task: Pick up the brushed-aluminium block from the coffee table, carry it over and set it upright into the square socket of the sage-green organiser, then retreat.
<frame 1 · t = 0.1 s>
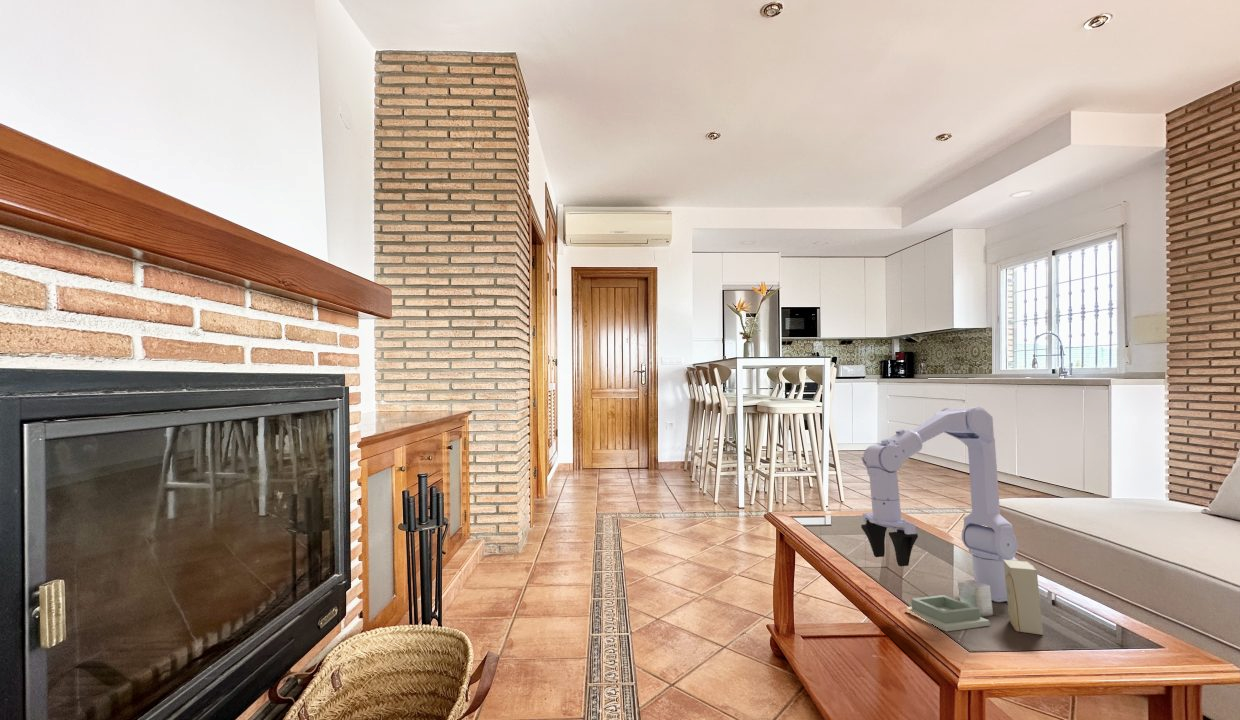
hand: (890, 561, 111), 10 cm above the table, tool pointing down, fingers open, 7 cm apart
organiser: (945, 618, 104), on the table
aluminium block: (976, 612, 107), on the table
skincare box: (1026, 629, 98), on the table
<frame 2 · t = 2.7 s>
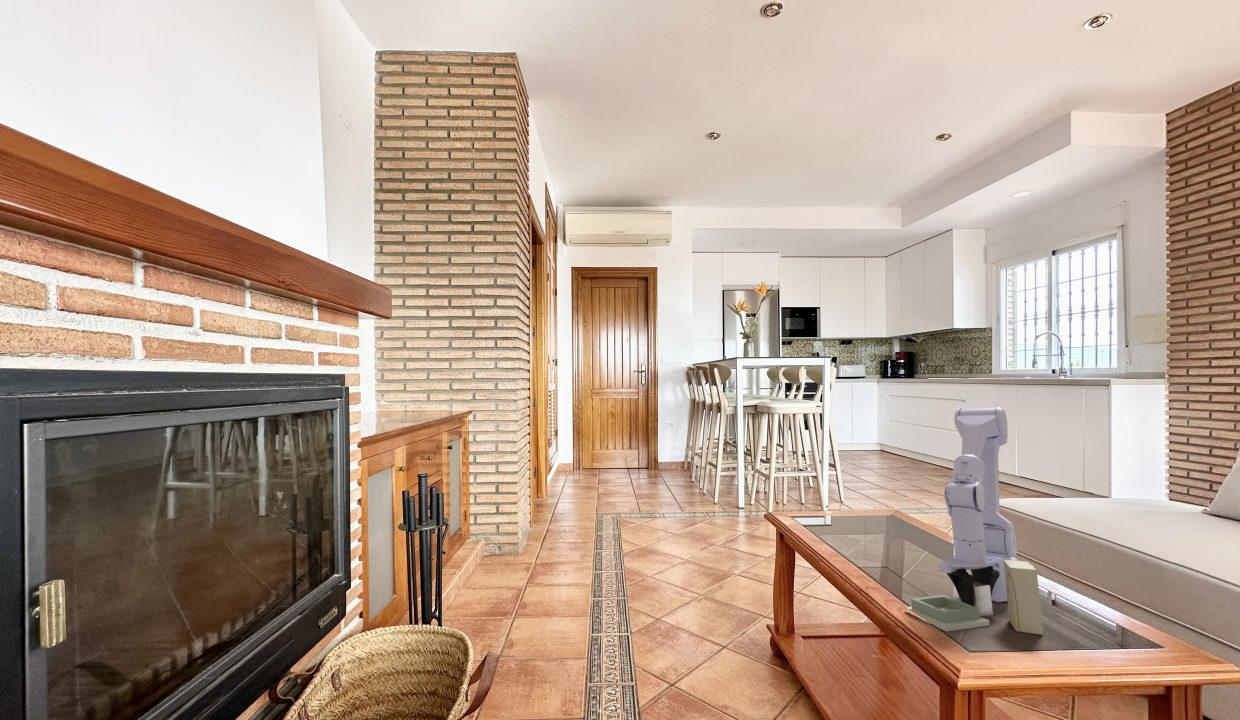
hand: (975, 604, 107), 2 cm above the table, tool pointing down, fingers closed on aluminium block, 4 cm apart
aluminium block: (976, 612, 107), on the table, touching gripper
everything else where it was.
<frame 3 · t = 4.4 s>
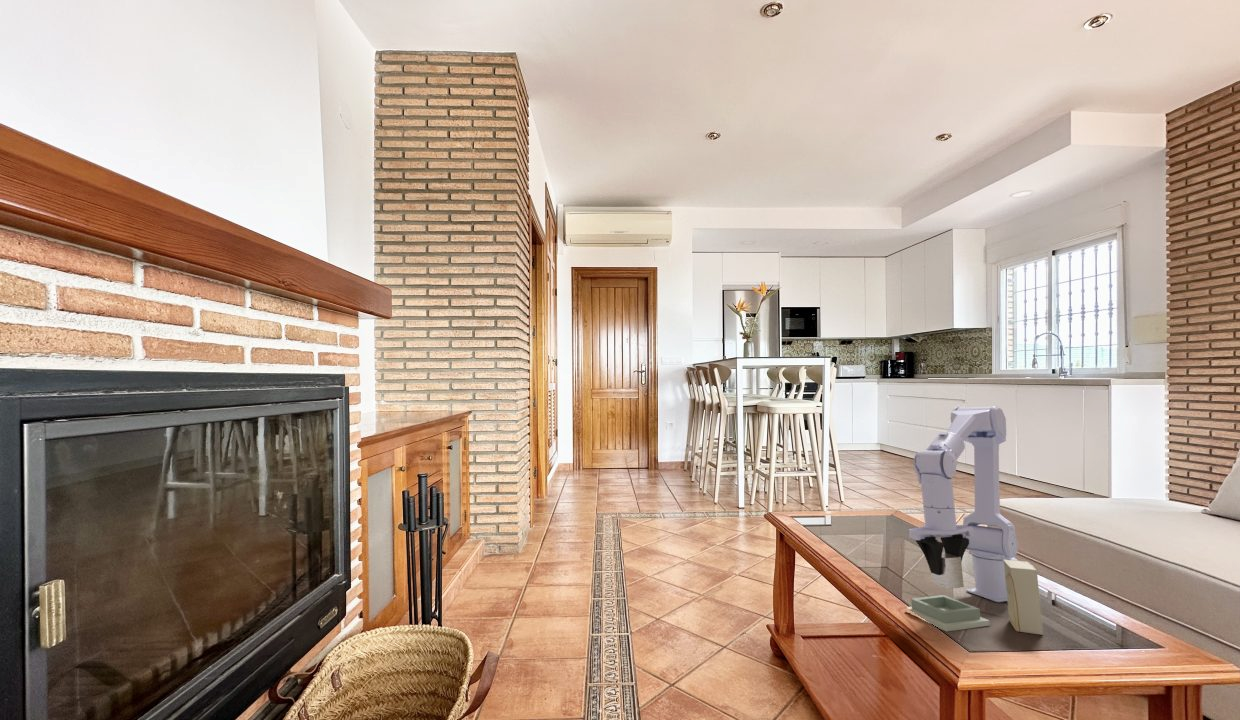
hand: (945, 572, 105), 9 cm above the table, tool pointing down, fingers closed on aluminium block, 4 cm apart
aluminium block: (947, 584, 105), point 7 cm above the table, touching gripper
everything else where it was.
when the fingers open (4 cm above the table, at t = 6.3 s): aluminium block stays where it is, resting on organiser.
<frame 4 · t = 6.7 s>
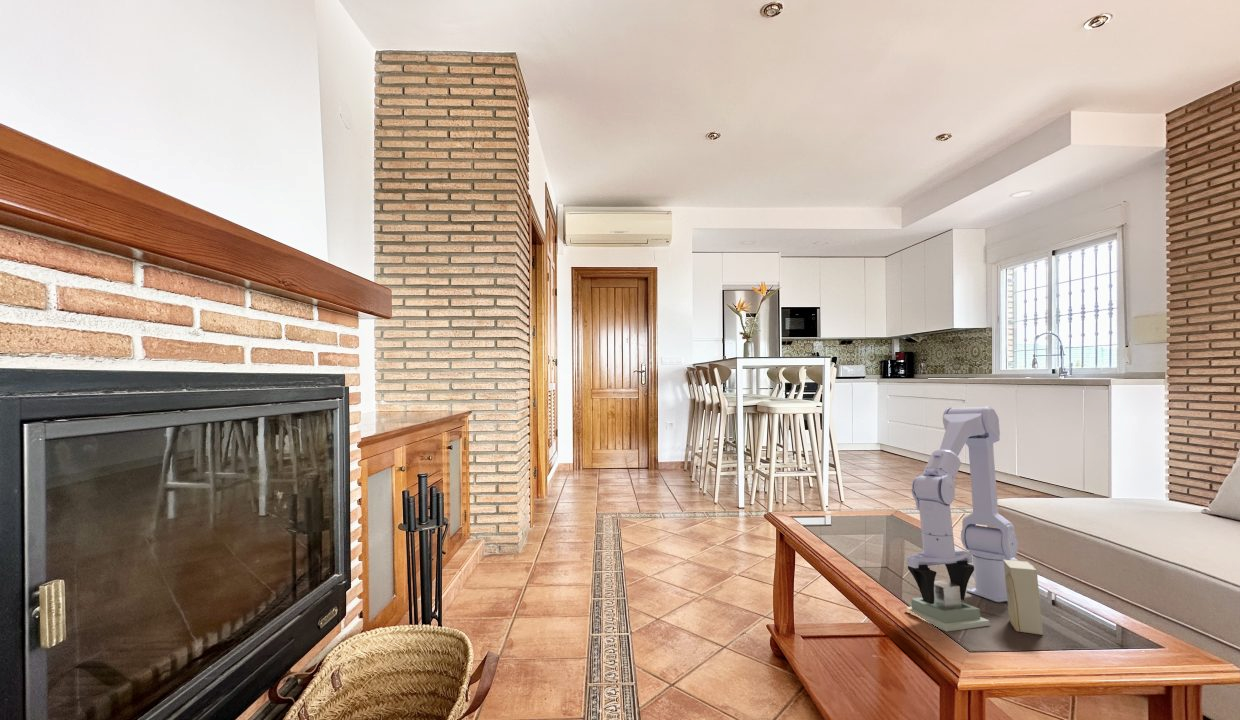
hand: (943, 600, 104), 4 cm above the table, tool pointing down, fingers open, 7 cm apart
aluminium block: (946, 614, 104), point 1 cm above the table, touching organiser
everything else where it was.
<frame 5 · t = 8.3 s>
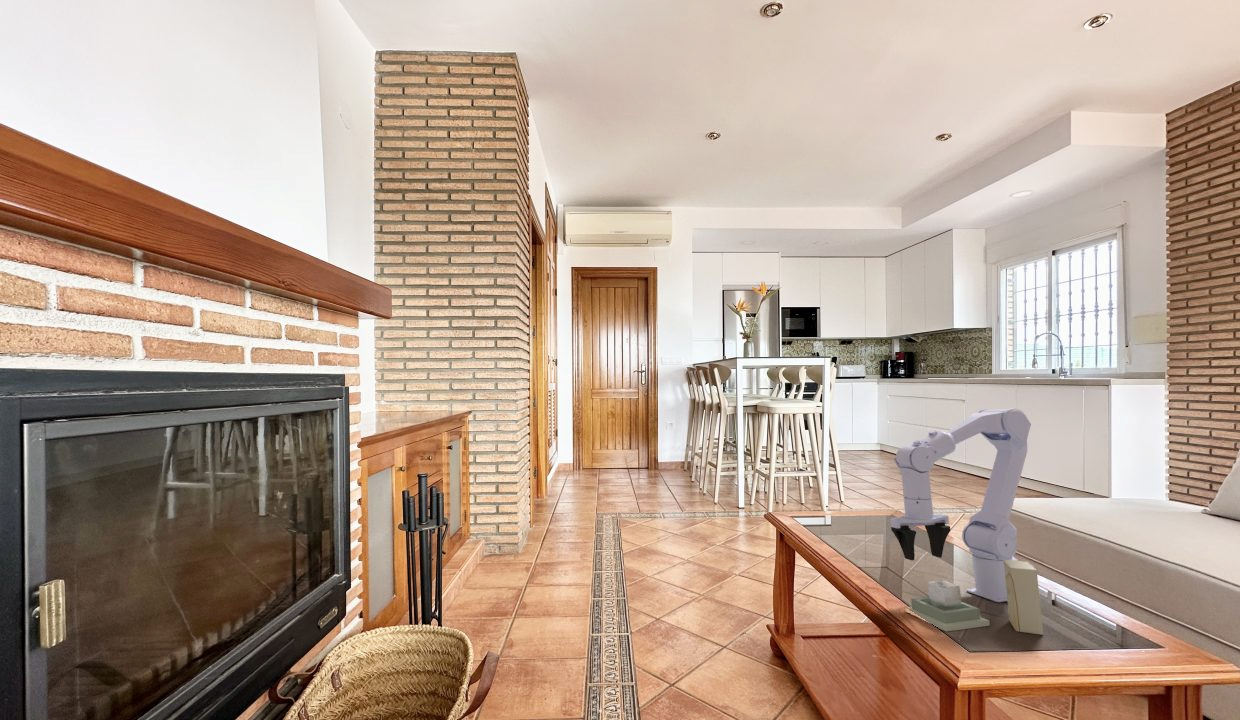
hand: (923, 557, 116), 9 cm above the table, tool pointing down, fingers open, 7 cm apart
nothing on the table moved.
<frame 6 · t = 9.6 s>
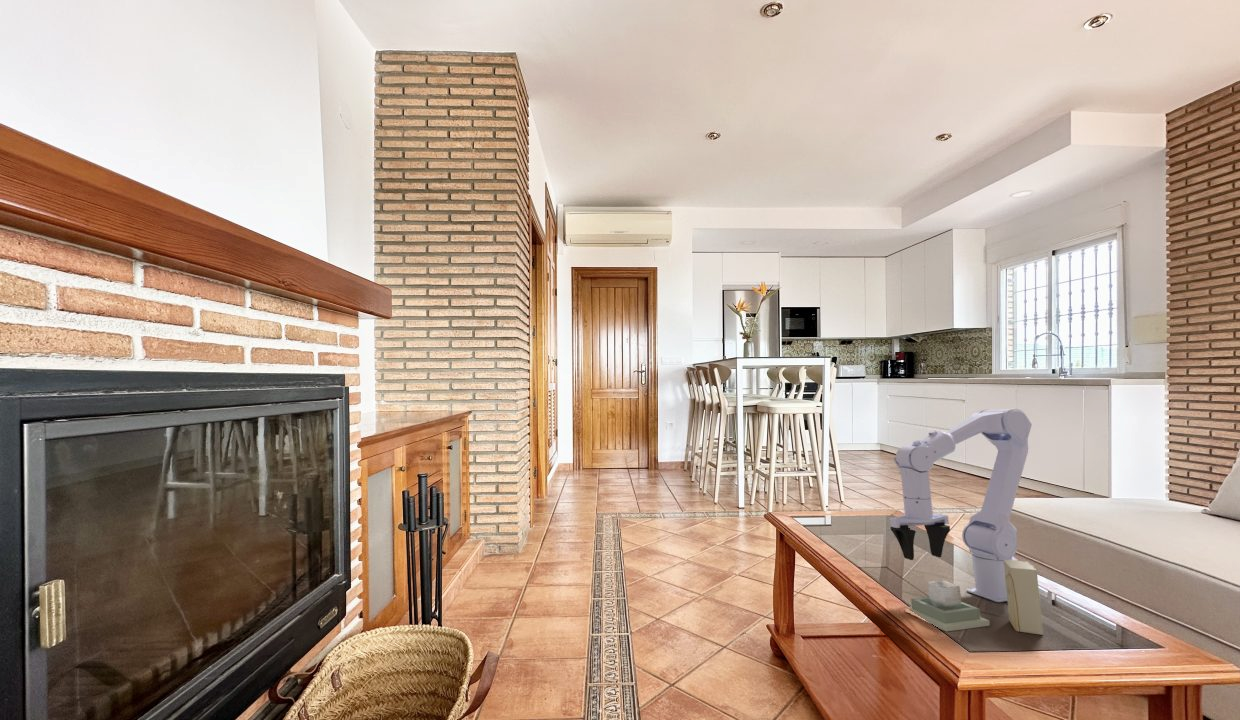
hand: (922, 557, 116), 9 cm above the table, tool pointing down, fingers open, 7 cm apart
nothing on the table moved.
at the end: aluminium block 0.3 cm off-centre on the organiser, point 1.0 cm above the organiser's base; aluminium block tilted 0°; the gripper is holding nothing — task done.
